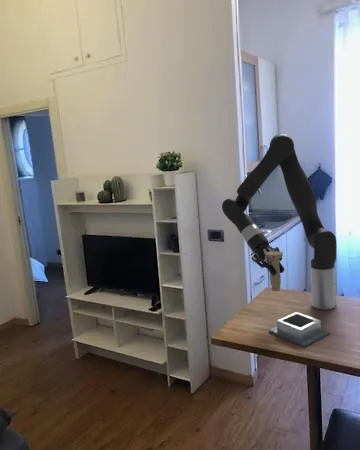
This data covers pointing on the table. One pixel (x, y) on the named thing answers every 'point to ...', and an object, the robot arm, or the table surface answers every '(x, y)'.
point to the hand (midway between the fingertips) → (279, 272)
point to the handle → (274, 262)
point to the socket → (299, 329)
